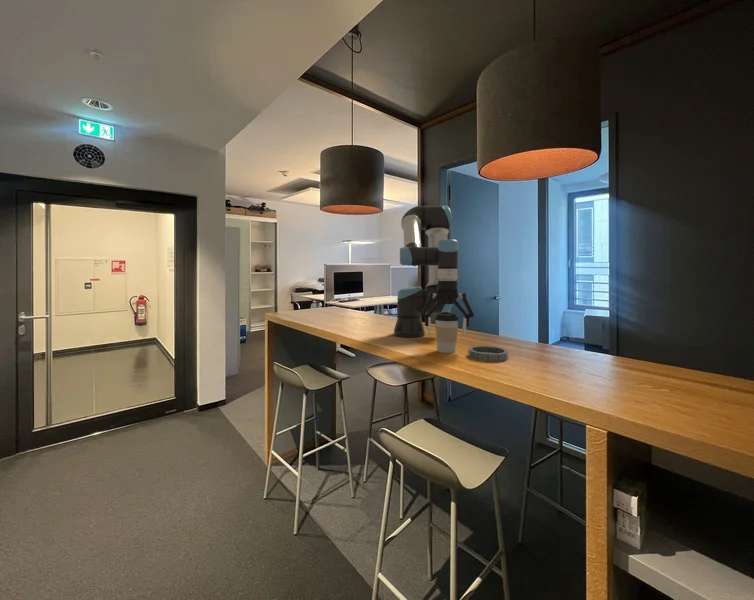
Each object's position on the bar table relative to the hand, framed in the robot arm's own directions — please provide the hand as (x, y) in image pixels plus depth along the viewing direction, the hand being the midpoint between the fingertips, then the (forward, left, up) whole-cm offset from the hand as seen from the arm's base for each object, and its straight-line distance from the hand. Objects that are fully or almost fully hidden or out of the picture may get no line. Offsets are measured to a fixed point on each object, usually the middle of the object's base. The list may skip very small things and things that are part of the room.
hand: (446, 334), depth 136 cm
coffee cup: (0, 0, -7) cm, 7 cm away
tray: (+8, +14, -7) cm, 17 cm away
